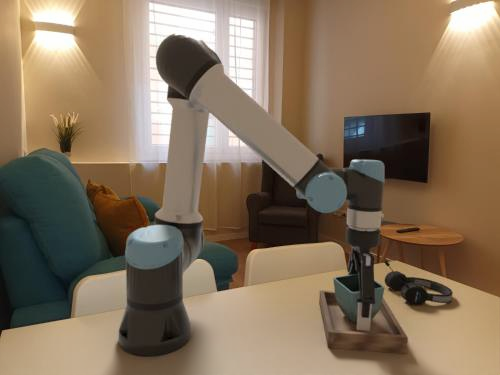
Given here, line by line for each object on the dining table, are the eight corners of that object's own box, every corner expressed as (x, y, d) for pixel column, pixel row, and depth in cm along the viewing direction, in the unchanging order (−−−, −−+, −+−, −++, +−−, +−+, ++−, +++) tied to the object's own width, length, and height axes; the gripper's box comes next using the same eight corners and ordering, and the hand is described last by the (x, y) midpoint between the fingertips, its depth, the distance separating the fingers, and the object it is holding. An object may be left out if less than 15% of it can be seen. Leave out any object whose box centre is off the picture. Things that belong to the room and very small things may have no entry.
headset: (376, 254, 111) (437, 260, 114) (370, 285, 112) (430, 290, 115) (399, 270, 98) (468, 277, 101) (393, 305, 99) (461, 310, 102)
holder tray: (327, 347, 78) (328, 332, 78) (319, 302, 100) (319, 290, 100) (406, 353, 77) (407, 337, 76) (380, 306, 99) (381, 294, 98)
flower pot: (331, 310, 93) (332, 276, 91) (362, 305, 95) (363, 272, 94) (350, 329, 85) (351, 293, 83) (383, 323, 87) (385, 287, 85)
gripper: (395, 242, 73) (387, 344, 76) (368, 217, 97) (363, 295, 100) (356, 240, 74) (349, 342, 76) (339, 215, 98) (334, 293, 101)
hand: (357, 315), depth 88 cm, fingers open, 13 cm apart
